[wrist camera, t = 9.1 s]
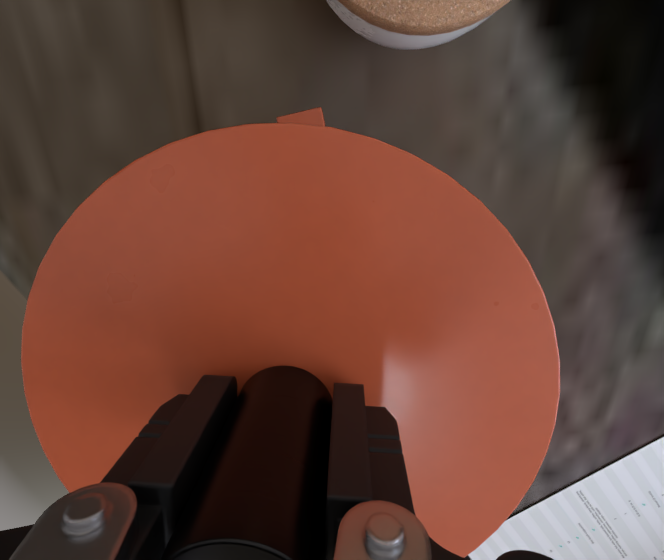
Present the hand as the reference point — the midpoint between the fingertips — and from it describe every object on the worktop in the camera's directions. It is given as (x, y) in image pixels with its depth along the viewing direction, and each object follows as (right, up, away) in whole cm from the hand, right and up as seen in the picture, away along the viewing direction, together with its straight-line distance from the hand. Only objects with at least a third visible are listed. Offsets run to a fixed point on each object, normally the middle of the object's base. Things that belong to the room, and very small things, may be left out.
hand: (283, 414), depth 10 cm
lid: (0, 0, +1) cm, 1 cm away
